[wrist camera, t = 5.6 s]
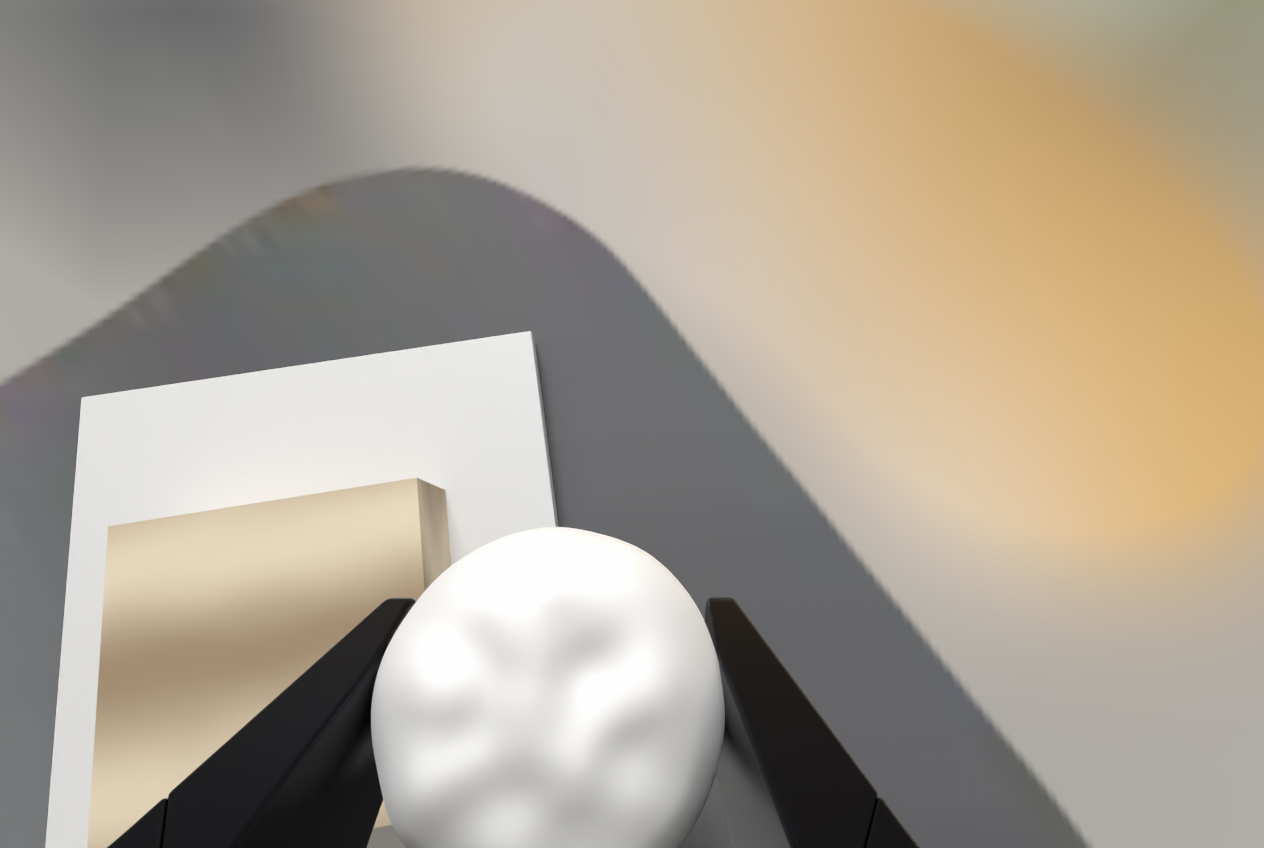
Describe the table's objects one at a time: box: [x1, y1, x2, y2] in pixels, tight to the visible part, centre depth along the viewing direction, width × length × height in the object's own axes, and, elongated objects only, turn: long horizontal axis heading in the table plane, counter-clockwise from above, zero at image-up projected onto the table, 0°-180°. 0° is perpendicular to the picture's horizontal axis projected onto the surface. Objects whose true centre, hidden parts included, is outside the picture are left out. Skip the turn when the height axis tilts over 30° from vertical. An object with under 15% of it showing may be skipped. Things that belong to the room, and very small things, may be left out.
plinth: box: [87, 478, 451, 848], centre depth 19 cm, size 10×10×3 cm
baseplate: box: [45, 331, 559, 848], centre depth 21 cm, size 22×18×1 cm
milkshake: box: [371, 527, 725, 848], centre depth 10 cm, size 4×5×10 cm
